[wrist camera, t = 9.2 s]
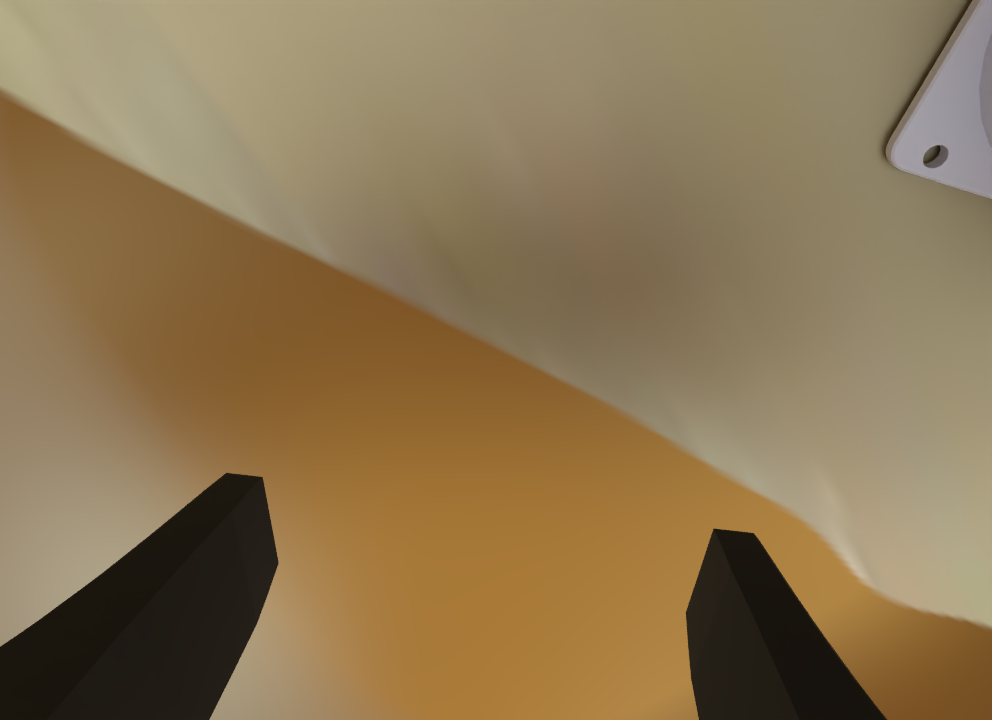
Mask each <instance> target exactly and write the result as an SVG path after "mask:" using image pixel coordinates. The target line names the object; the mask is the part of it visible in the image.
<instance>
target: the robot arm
mask: <svg viewBox="0 0 992 720" xmlns="http://www.w3.org/2000/svg"><path fill="white" fill-rule="evenodd" d="M936 145H940V149H941V150H940V153H939V155H938V156H937V157H936V159H935V160H934V161H931V162H929V163H923V157H924V154H925V153H926V152H927V150H928V149H929V148H931V147H933V146H936ZM886 157H887V159H888V161H889V163H890V164H892V165H893V166H895V167H896V168H898V169H900V170H901V171H904V172H907V173H911V174H914V175H917V176H920V177H923V178H926V179H930V180H933V181H936V182H939V183H942V184H945V185H948V186H952V187H955V188H958V189H961V190H964V191H967V192H970V193H974V194H977V195H980V196H983V197H986V198H989V199H992V0H972V2H971V4H970V5H969V7H968V9H967V10H966V12H965V14H964V15H963V17H962V19H961V20H960V22H959V24H958V26H957V27H956V29H955V31H954V32H953V34H952V36H951V37H950V39H949V41H948V42H947V44H946V46H945V47H944V49H943V51H942V52H941V54H940V56H939V57H938V59H937V61H936V62H935V64H934V66H933V67H932V69H931V71H930V72H929V74H928V76H927V77H926V79H925V81H924V82H923V84H922V86H921V87H920V89H919V91H918V92H917V94H916V96H915V97H914V99H913V101H912V102H911V104H910V106H909V108H908V109H907V111H906V113H905V114H904V116H903V118H902V119H901V121H900V123H899V124H898V126H897V128H896V129H895V131H894V133H893V134H892V136H891V138H890V139H889V142H888V144H887V147H886ZM277 566H278V557H277V552H276V547H275V541H274V536H273V531H272V525H271V520H270V514H269V509H268V504H267V498H266V493H265V487H264V483H263V478H262V477H256V476H248V475H240V474H231V473H226V474H224V475H223V476H222V477H221V478H219V479H218V480H217V481H216V482H215V483H213V484H212V485H211V486H210V487H208V488H207V489H206V490H204V491H203V492H202V493H201V494H200V495H199V496H197V497H196V498H195V499H194V500H192V501H191V502H190V503H189V504H187V505H186V506H185V507H184V508H183V509H181V510H180V511H179V512H178V513H177V514H175V515H174V516H173V517H172V518H171V519H169V520H168V521H167V522H166V523H164V524H163V525H162V526H161V527H159V528H158V529H157V530H156V531H155V532H153V533H152V534H151V535H150V536H149V537H147V538H146V539H145V540H143V541H142V542H141V543H140V544H138V545H137V546H136V547H135V548H133V549H132V550H131V551H130V552H128V553H127V554H126V555H125V556H123V557H122V558H121V559H120V560H118V561H117V562H116V563H115V564H113V565H112V566H111V567H110V568H108V569H107V570H106V571H104V572H103V573H102V574H101V575H99V576H98V577H97V578H95V579H94V580H93V581H92V582H90V583H89V584H87V585H86V586H85V587H83V588H82V589H81V590H79V591H78V592H77V593H75V594H74V595H72V596H71V597H70V598H68V599H67V600H66V601H64V602H63V603H62V604H60V605H59V606H58V607H56V608H55V609H54V610H52V611H51V612H50V613H48V614H47V615H45V616H44V617H43V618H41V619H40V620H39V621H37V622H36V623H34V624H33V625H31V626H30V627H29V628H27V629H26V630H24V631H23V632H21V633H20V634H18V635H17V636H16V637H14V638H13V639H11V640H10V641H8V642H7V643H5V644H4V645H2V646H1V647H0V720H209V719H210V717H211V715H212V713H213V711H214V709H215V707H216V705H217V703H218V701H219V699H220V697H221V695H222V693H223V691H224V689H225V687H226V685H227V683H228V681H229V679H230V677H231V675H232V673H233V671H234V669H235V667H236V665H237V663H238V661H239V659H240V657H241V655H242V653H243V651H244V649H245V647H246V645H247V643H248V641H249V639H250V637H251V634H252V632H253V630H254V628H255V626H256V624H257V622H258V619H259V616H260V614H261V611H262V608H263V606H264V603H265V600H266V598H267V595H268V592H269V589H270V586H271V583H272V580H273V577H274V575H275V572H276V569H277ZM686 620H687V634H688V648H689V658H690V669H691V679H692V685H693V690H694V696H695V701H696V706H697V711H698V717H699V720H887V719H886V718H885V716H884V715H883V714H882V713H881V711H880V710H879V709H878V708H877V707H876V705H875V704H874V703H873V701H872V700H871V699H870V697H869V696H868V695H867V694H866V692H865V691H864V690H863V688H862V687H861V686H860V684H859V683H858V682H857V680H856V679H855V678H854V676H853V675H852V674H851V672H850V671H849V669H848V668H847V667H846V666H845V664H844V663H843V661H842V660H841V659H840V657H839V656H838V654H837V653H836V652H835V650H834V649H833V648H832V647H831V645H830V644H829V642H828V641H827V639H826V638H825V637H824V636H823V634H822V632H821V631H820V630H819V628H818V627H817V625H816V624H815V622H814V621H813V620H812V618H811V617H810V615H809V614H808V612H807V611H806V609H805V608H804V607H803V605H802V604H801V602H800V601H799V600H798V598H797V596H796V595H795V594H794V592H793V590H792V589H791V587H790V586H789V584H788V583H787V581H786V580H785V579H784V577H783V575H782V574H781V572H780V571H779V569H778V568H777V567H776V565H775V563H774V562H773V560H772V559H771V557H770V556H769V554H768V553H767V551H766V550H765V548H764V547H763V545H762V544H761V542H760V541H759V539H758V538H757V537H756V536H755V534H754V533H747V532H738V531H730V530H720V529H713V532H712V535H711V538H710V541H709V544H708V547H707V551H706V554H705V557H704V560H703V563H702V566H701V569H700V572H699V575H698V578H697V581H696V584H695V587H694V590H693V593H692V596H691V599H690V602H689V605H688V608H687V611H686Z"/></svg>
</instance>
